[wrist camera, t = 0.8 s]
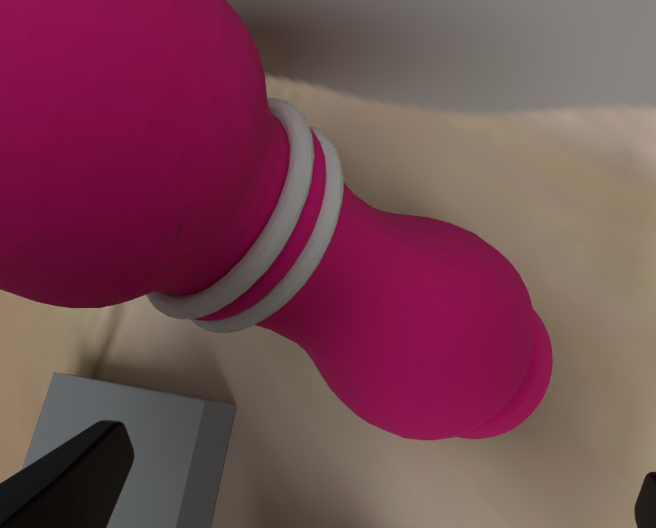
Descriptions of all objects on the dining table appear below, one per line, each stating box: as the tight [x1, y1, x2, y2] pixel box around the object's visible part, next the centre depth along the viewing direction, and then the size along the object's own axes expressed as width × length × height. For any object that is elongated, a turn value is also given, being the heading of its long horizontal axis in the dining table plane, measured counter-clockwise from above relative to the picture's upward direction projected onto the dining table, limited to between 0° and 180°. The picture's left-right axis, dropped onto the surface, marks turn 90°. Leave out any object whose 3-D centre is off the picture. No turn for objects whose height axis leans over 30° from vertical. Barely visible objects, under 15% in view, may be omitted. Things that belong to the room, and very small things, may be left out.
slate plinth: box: [22, 372, 236, 528], centre depth 23 cm, size 11×11×2 cm
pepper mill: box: [0, 0, 552, 440], centre depth 12 cm, size 7×7×20 cm
